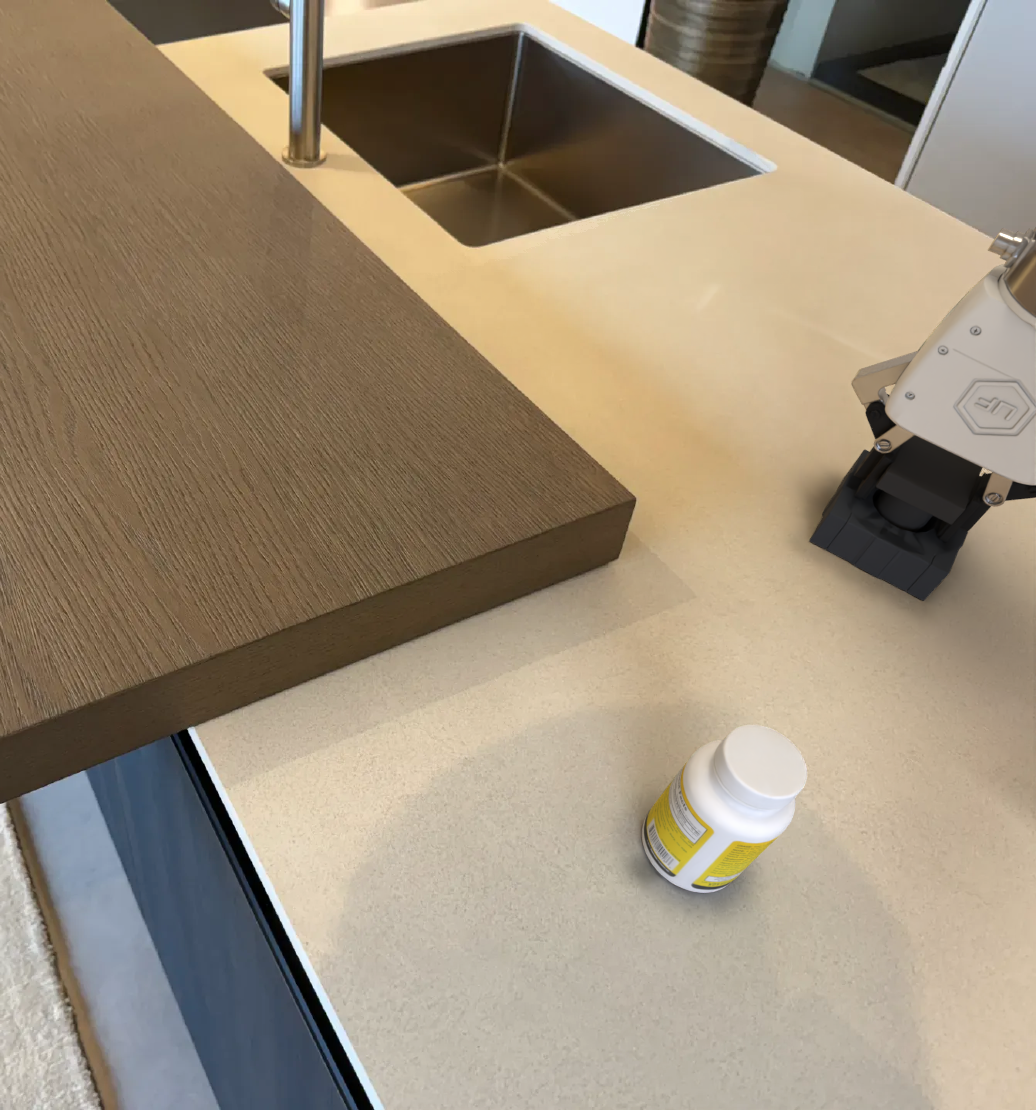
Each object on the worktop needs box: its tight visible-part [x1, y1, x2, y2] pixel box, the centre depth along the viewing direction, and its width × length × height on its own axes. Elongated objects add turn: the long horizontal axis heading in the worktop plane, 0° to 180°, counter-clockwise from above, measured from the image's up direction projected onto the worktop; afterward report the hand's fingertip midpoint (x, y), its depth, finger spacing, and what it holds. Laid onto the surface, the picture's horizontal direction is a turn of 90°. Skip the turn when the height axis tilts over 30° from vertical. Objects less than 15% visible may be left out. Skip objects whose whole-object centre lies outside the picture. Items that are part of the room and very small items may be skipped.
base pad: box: [809, 449, 969, 602], centre depth 72 cm, size 8×8×3 cm
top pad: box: [874, 435, 984, 532], centre depth 70 cm, size 5×5×4 cm
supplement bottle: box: [641, 723, 808, 894], centre depth 53 cm, size 5×5×10 cm
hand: (906, 505), depth 71 cm, fingers closed on top pad, 4 cm apart
